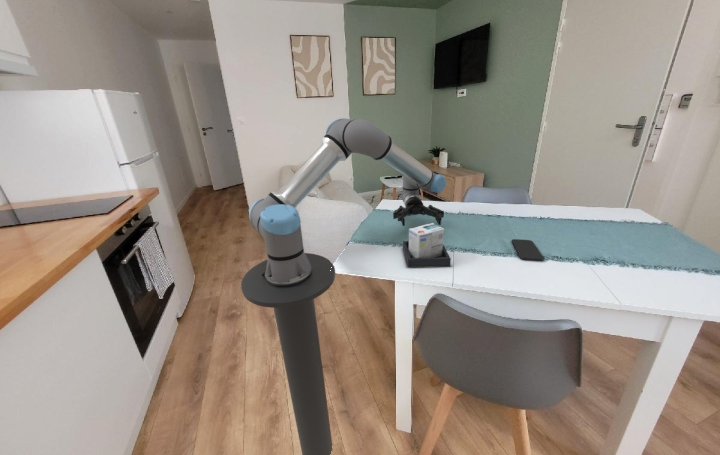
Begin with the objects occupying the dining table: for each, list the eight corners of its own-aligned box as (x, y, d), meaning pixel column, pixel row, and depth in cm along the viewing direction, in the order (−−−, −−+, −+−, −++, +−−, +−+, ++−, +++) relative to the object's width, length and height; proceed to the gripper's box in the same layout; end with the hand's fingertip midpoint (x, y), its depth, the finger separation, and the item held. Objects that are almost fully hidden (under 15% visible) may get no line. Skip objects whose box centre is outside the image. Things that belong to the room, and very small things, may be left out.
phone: (520, 257, 100) (510, 238, 113) (520, 259, 100) (510, 240, 114) (544, 259, 98) (531, 240, 112) (544, 261, 99) (531, 242, 112)
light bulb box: (431, 248, 110) (432, 222, 106) (442, 255, 104) (445, 228, 100) (407, 255, 106) (408, 227, 102) (418, 263, 100) (419, 234, 96)
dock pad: (407, 267, 99) (407, 259, 98) (402, 248, 112) (402, 241, 111) (450, 266, 98) (450, 258, 97) (440, 247, 112) (440, 240, 111)
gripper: (441, 211, 130) (454, 230, 110) (385, 213, 131) (388, 232, 111) (442, 195, 127) (456, 211, 107) (385, 197, 128) (388, 213, 108)
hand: (421, 222), depth 109 cm, fingers open, 13 cm apart
